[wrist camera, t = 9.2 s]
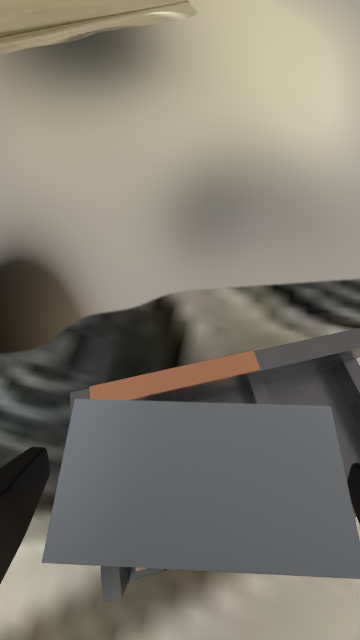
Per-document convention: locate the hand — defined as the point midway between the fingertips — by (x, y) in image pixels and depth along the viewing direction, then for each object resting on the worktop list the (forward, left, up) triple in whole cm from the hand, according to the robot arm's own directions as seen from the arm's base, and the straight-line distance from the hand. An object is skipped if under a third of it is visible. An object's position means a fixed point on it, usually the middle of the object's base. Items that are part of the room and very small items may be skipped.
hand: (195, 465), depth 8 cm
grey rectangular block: (0, 0, -8) cm, 8 cm away
